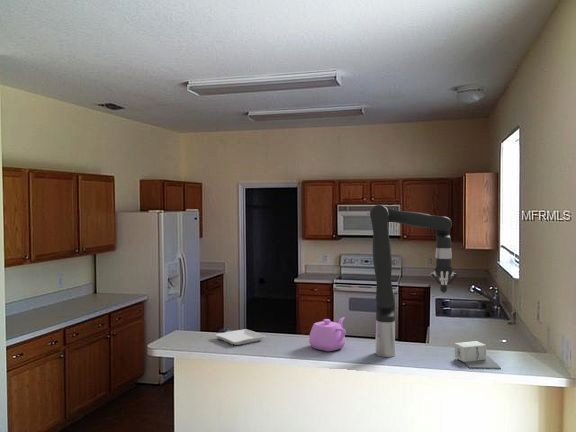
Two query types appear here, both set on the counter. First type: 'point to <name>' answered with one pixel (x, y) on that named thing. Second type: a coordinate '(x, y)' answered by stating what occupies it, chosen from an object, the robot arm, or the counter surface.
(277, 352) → the counter surface
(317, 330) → the teapot
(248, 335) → the salad plate
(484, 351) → the supplement box
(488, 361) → the charcoal mat
